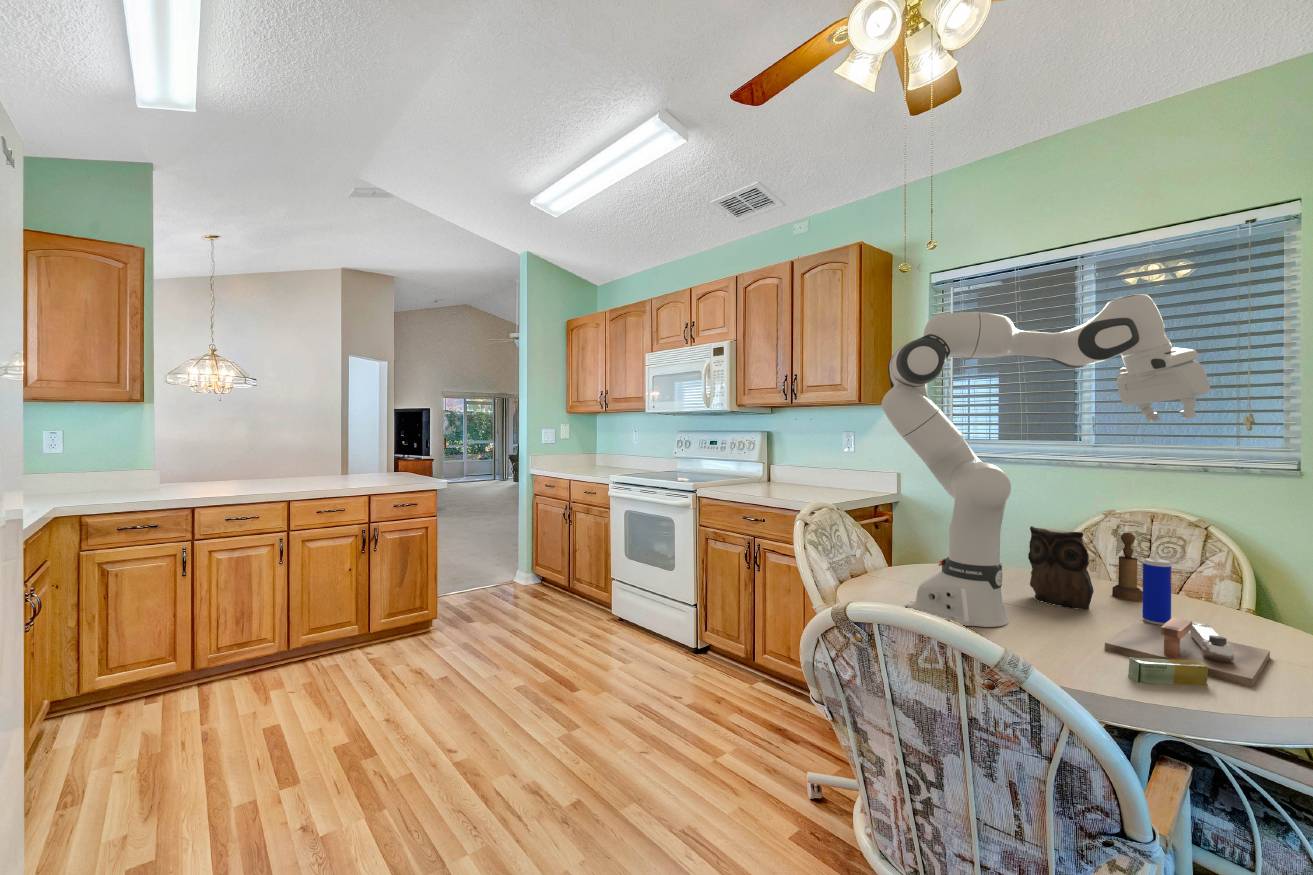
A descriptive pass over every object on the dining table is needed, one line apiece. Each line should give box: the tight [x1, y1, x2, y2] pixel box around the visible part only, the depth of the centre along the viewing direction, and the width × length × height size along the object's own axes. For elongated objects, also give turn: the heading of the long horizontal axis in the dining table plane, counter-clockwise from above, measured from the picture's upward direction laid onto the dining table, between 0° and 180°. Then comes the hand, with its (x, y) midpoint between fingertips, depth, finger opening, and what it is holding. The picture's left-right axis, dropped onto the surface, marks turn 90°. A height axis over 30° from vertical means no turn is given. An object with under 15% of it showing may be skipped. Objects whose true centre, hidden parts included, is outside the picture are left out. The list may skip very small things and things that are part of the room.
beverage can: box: [1141, 557, 1172, 626], centre depth 135 cm, size 5×5×15 cm
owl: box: [1027, 525, 1094, 611], centre depth 151 cm, size 13×13×20 cm
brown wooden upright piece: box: [1111, 532, 1143, 602], centre depth 154 cm, size 7×6×18 cm
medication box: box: [1127, 656, 1209, 686], centre depth 104 cm, size 12×3×4 cm, turn 85°
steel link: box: [1190, 621, 1234, 661], centre depth 115 cm, size 17×4×2 cm, turn 147°
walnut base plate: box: [1104, 616, 1271, 688], centre depth 116 cm, size 22×22×7 cm
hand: (1171, 419), depth 127 cm, fingers open, 8 cm apart
